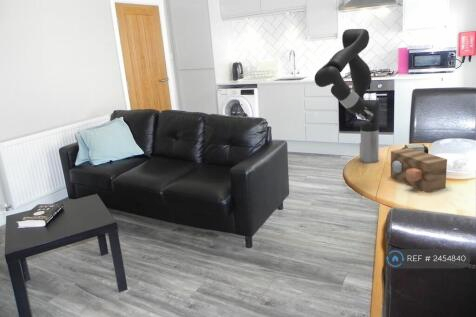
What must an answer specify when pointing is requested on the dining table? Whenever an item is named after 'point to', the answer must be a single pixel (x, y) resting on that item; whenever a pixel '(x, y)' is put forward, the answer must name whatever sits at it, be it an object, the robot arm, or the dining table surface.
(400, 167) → the grey plug
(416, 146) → the pneumatic valve
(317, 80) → the robot arm
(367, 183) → the dining table surface
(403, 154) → the socket block
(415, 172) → the terracotta plug
